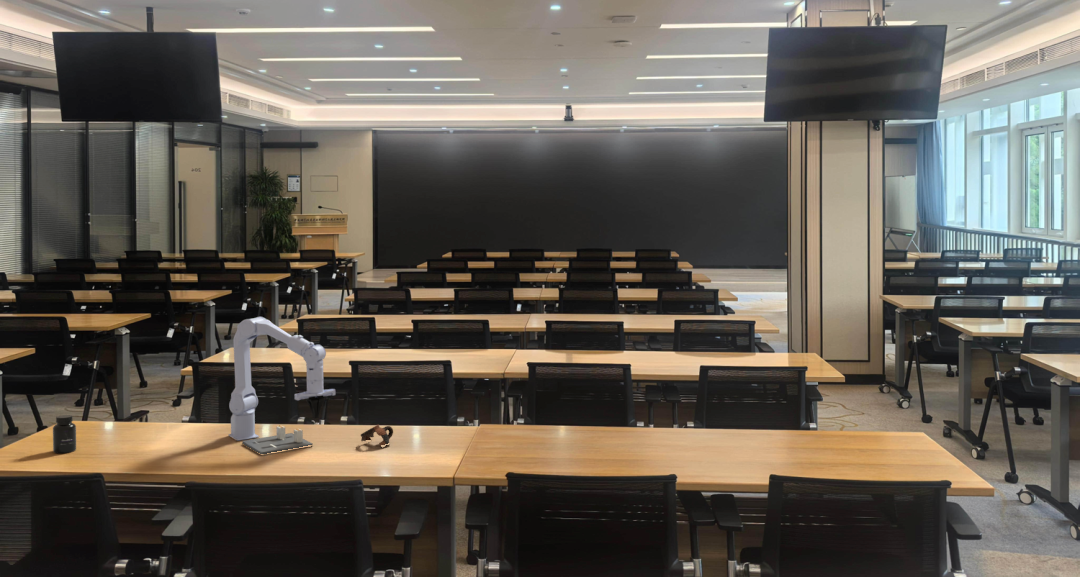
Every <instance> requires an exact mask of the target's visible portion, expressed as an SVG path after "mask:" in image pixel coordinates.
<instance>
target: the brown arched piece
mask: <svg viewBox="0 0 1080 577" xmlns="http://www.w3.org/2000/svg"><path fill="white" fill-rule="evenodd" d="M387 431H388V432H387ZM375 433H376V434H377V435H378V436H380V437H381V439H382V441H380V442H379V446H380V447H381V445H385V444H388V443H390V439H391V438H392V436H394V429H393V428H392V426H390V425H386V426H384V427H380V424H376V425H375V426H372V427H371V428H370V429H367V430H366V431H363V432H362V433H360V437H361V440H360V441H361V442H366V440H371V441H372V439H371V438H374V437H375V435H374V434H375Z"/></svg>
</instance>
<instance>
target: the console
mask: <svg viewBox="0 0 1080 577" xmlns="http://www.w3.org/2000/svg"><path fill="white" fill-rule="evenodd" d="M241 441H242V445H243V444H244V445H245V446H244V445H243V446H244V447H246V446H247V447H246V448H248V447H249V448H251V449H252V450H251V449H250V450H251V451H253V450H254V451H256V452H258V453H260V454H267V453H271V452H277V451H282V450H288V449H293V448H299V447H303V446H308V445H313V443H312V442H311V441H308V440H306V439H304V438H303V442H298V443H297V442H295V441H294V432H293V433H292V432H290V433H285V439H279V438H277V434H276V435H271V436H265V437H257V438H251V439H245V440H241ZM249 448H248V449H249ZM254 451H253V452H254ZM256 452H255V453H256ZM258 453H257V454H258Z"/></svg>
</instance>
